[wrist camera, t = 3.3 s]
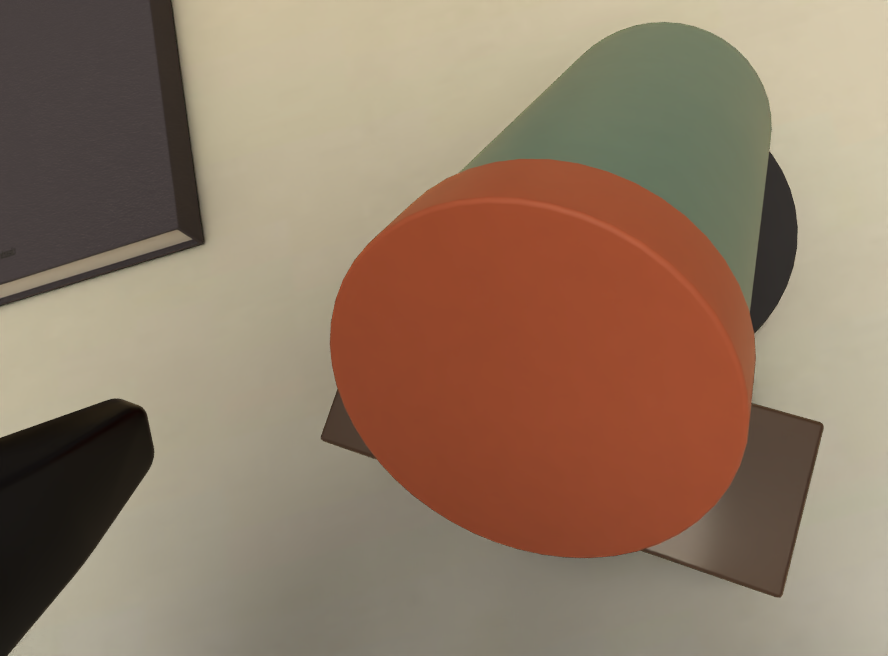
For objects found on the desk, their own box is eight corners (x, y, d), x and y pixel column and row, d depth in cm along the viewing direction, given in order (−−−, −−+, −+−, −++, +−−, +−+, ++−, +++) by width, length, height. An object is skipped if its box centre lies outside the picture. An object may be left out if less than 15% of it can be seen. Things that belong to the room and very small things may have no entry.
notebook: (204, 245, 25) (139, -235, 31) (177, 227, 23) (114, -273, 29) (-121, 344, 27) (-124, -123, 33) (-165, 334, 25) (-160, -154, 31)
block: (741, 576, 19) (782, 599, 14) (383, 454, 22) (318, 439, 17) (775, 443, 20) (826, 422, 15) (421, 340, 22) (368, 295, 18)
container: (655, 568, 19) (719, 664, 7) (440, 493, 21) (206, 471, 9) (776, 126, 21) (981, -367, 9) (570, 88, 23) (520, -372, 11)
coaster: (750, 422, 20) (753, 420, 19) (447, 335, 22) (444, 332, 22) (827, 128, 21) (831, 121, 21) (533, 75, 24) (532, 68, 23)
